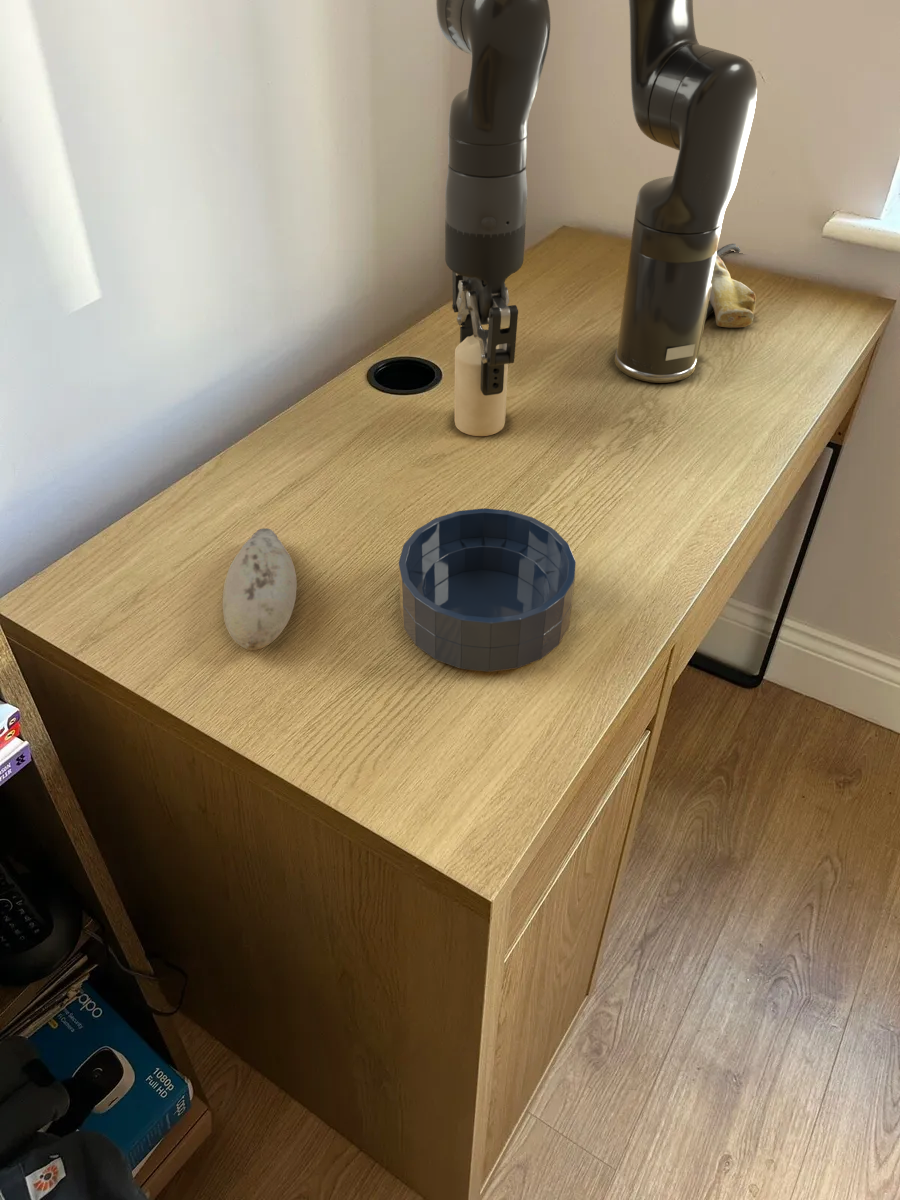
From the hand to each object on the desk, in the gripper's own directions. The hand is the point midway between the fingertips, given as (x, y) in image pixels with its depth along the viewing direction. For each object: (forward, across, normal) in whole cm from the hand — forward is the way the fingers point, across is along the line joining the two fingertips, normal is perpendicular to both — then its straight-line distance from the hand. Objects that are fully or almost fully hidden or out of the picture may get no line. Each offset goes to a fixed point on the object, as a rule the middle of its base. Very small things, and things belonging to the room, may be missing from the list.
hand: (480, 375), depth 100 cm
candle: (+6, 0, 0) cm, 6 cm away
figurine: (+6, +19, -40) cm, 44 cm away
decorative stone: (+6, -22, +26) cm, 35 cm away
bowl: (+6, -29, +8) cm, 31 cm away
